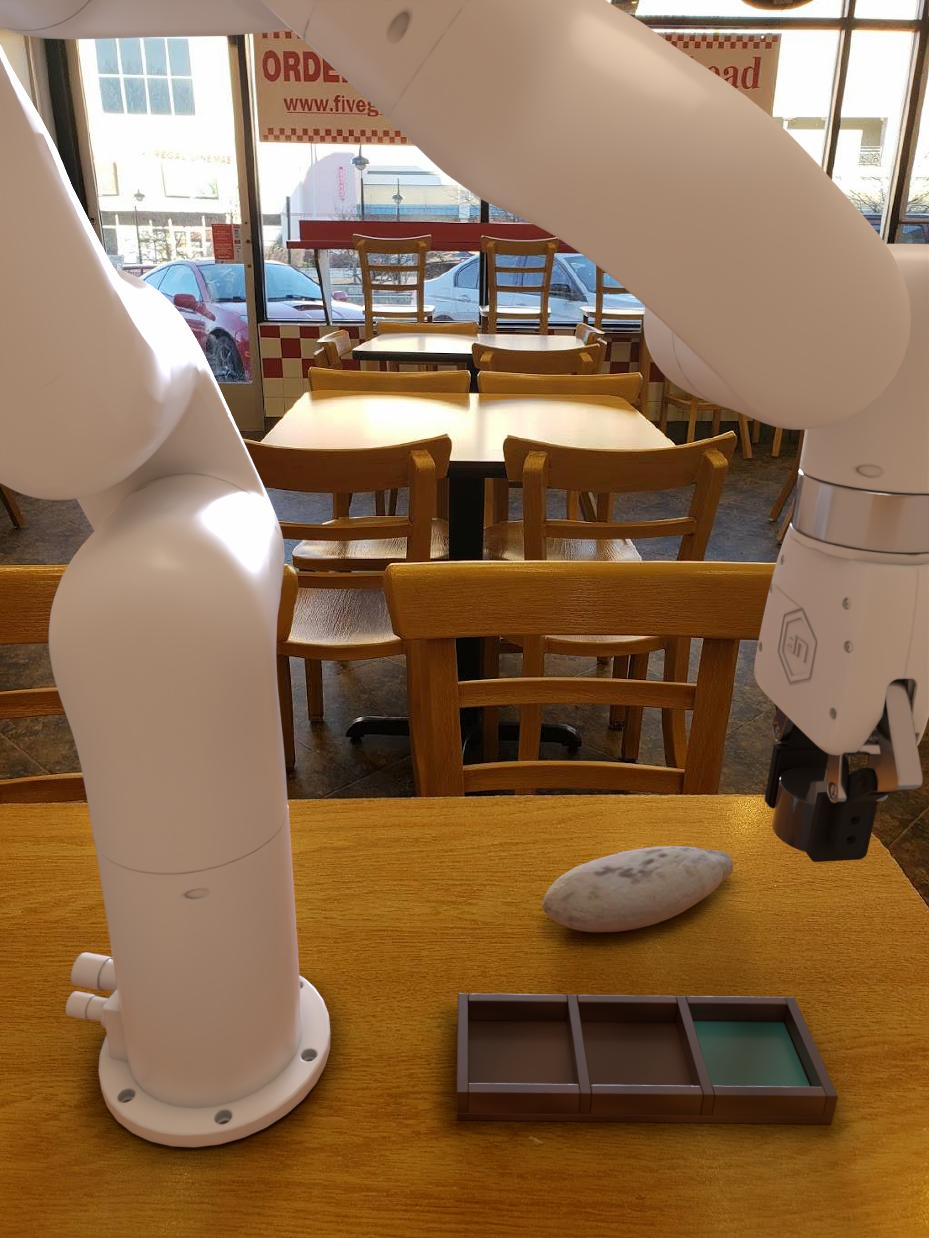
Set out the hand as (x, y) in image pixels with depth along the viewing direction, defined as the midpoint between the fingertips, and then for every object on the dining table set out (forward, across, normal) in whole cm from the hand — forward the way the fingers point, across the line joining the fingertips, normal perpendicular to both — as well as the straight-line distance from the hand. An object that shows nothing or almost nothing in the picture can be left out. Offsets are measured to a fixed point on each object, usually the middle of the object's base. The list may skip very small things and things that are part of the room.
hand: (813, 827), depth 53 cm
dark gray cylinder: (0, 0, 0) cm, 0 cm away
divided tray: (+13, +4, -10) cm, 17 cm away
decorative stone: (+13, -10, -6) cm, 17 cm away
